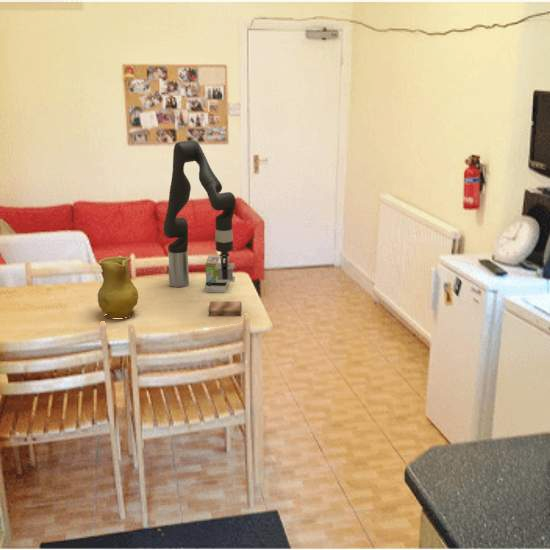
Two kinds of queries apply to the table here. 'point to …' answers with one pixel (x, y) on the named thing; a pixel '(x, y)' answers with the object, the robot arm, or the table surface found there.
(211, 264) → the tea box
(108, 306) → the pitcher
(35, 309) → the table surface
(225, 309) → the stand
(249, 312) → the table surface
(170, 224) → the robot arm
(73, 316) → the table surface
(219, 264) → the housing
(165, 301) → the table surface
